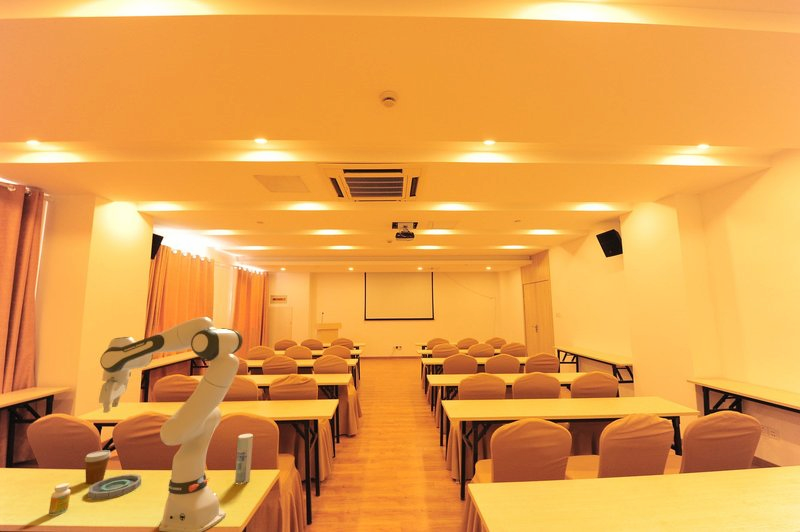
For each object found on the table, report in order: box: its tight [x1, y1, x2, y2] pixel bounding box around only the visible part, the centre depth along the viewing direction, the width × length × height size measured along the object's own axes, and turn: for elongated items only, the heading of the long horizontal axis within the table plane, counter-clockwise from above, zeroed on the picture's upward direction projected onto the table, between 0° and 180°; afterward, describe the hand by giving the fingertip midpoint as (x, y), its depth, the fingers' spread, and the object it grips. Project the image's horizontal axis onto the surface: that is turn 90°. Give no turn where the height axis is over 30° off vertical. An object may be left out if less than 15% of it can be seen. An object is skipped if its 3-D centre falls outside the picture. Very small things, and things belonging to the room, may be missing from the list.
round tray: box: [87, 473, 142, 501], centre depth 152 cm, size 18×18×2 cm
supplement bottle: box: [48, 482, 71, 517], centre depth 134 cm, size 5×5×10 cm
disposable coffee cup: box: [84, 449, 112, 485], centre depth 160 cm, size 10×10×12 cm
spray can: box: [234, 433, 254, 485], centre depth 160 cm, size 6×6×20 cm
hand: (110, 409), depth 143 cm, fingers open, 8 cm apart
